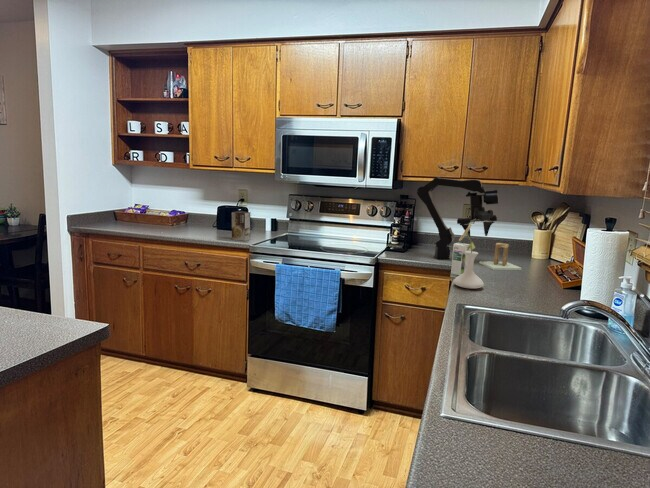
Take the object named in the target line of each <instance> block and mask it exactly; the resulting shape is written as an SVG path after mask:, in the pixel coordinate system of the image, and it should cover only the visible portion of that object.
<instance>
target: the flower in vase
mask: <svg viewBox="0 0 650 488" xmlns="http://www.w3.org/2000/svg"><path fill="white" fill-rule="evenodd" d="M469 224H470V225H469V226H468V228H467V229H466V230H464V232H463V233H462V235H460V238H459V239H458V242H461V241H462V240H463V239H464V238H465V236H466V237H469V235H468V231H469V229H470V230H471V228H472V223H469ZM467 235H468V236H467ZM468 240H469V243H468V244H469V247H468V248H467V250H469V249H471V251H465V254H466V256H467V269H466V271H465V272H464V273H462V274H461V275H459V276H458V277H456V278H453V284H454V285H456V286H457V287H459V288H464V289H475V290H476V289H481V288H482V287H484V286H485V283H484V282H483V280H482V279H481V278H480V277H479V276H478V275H477V274H476V272H474V263H475V259H476V257H477V256H478V255H479V252H477V251H473V250H474V249H476V246H475V243H474V242H473V241H472V240H471V236H470V237H469V238H468Z"/></svg>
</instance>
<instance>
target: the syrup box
mask: <svg viewBox="0 0 650 488" xmlns="http://www.w3.org/2000/svg"><path fill="white" fill-rule="evenodd" d="M469 244H470V243H462V242H455V243H453V248H452V256H451V257H452V258H451V259H452V260H451V271H450V278H453V279H455V278H456V277H458V276H459V275H461V274H462V273H464V272H465V271H466V269H467V256H466V254H465V251H471V249H469V250H467V248H468V247H469Z"/></svg>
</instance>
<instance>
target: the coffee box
mask: <svg viewBox="0 0 650 488" xmlns="http://www.w3.org/2000/svg"><path fill="white" fill-rule="evenodd" d="M251 214H252V213H251V212H250V211H249V212H248V211H232V212H231V240H232V241H233V240H234V241H240V242H241V241H242V242H247V241H250V240H251Z"/></svg>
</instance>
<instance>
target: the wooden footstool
mask: <svg viewBox="0 0 650 488" xmlns="http://www.w3.org/2000/svg"><path fill="white" fill-rule="evenodd" d="M509 246H510V245H509V243H503V242H496V243H495V249H494V258H493V262H494V265H497V264H498V262H500V250H501V248H503V251H502V252H503V253H502V261H501V262H502V266H505V265H507V262H508V255H509Z"/></svg>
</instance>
